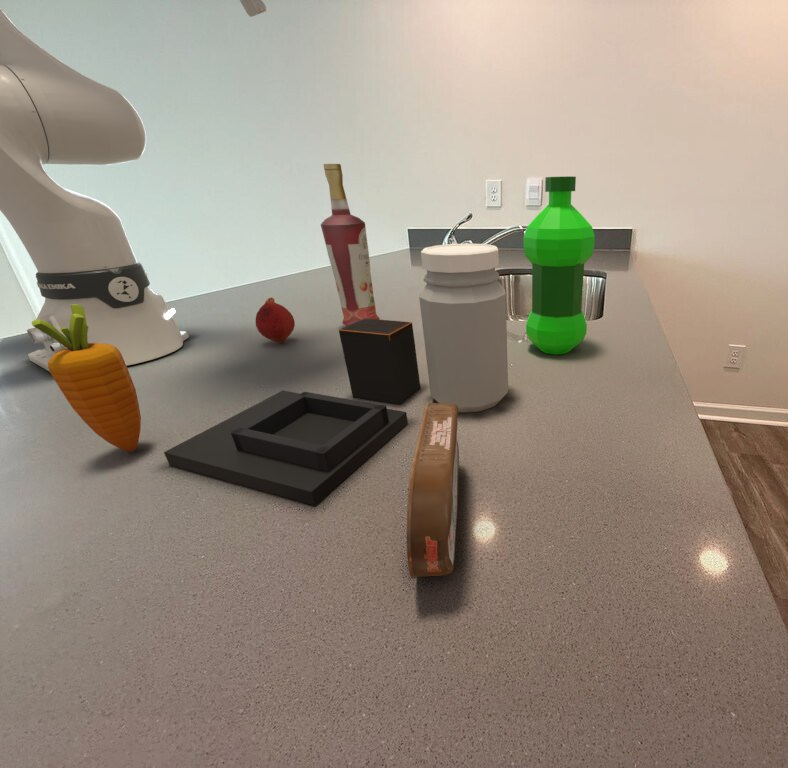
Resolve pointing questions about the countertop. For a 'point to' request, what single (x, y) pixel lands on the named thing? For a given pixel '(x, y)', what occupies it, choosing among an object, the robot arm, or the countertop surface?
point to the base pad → (291, 444)
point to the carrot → (95, 382)
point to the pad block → (381, 359)
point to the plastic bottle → (558, 270)
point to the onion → (274, 321)
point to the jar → (464, 325)
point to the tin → (434, 493)
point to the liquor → (348, 253)
